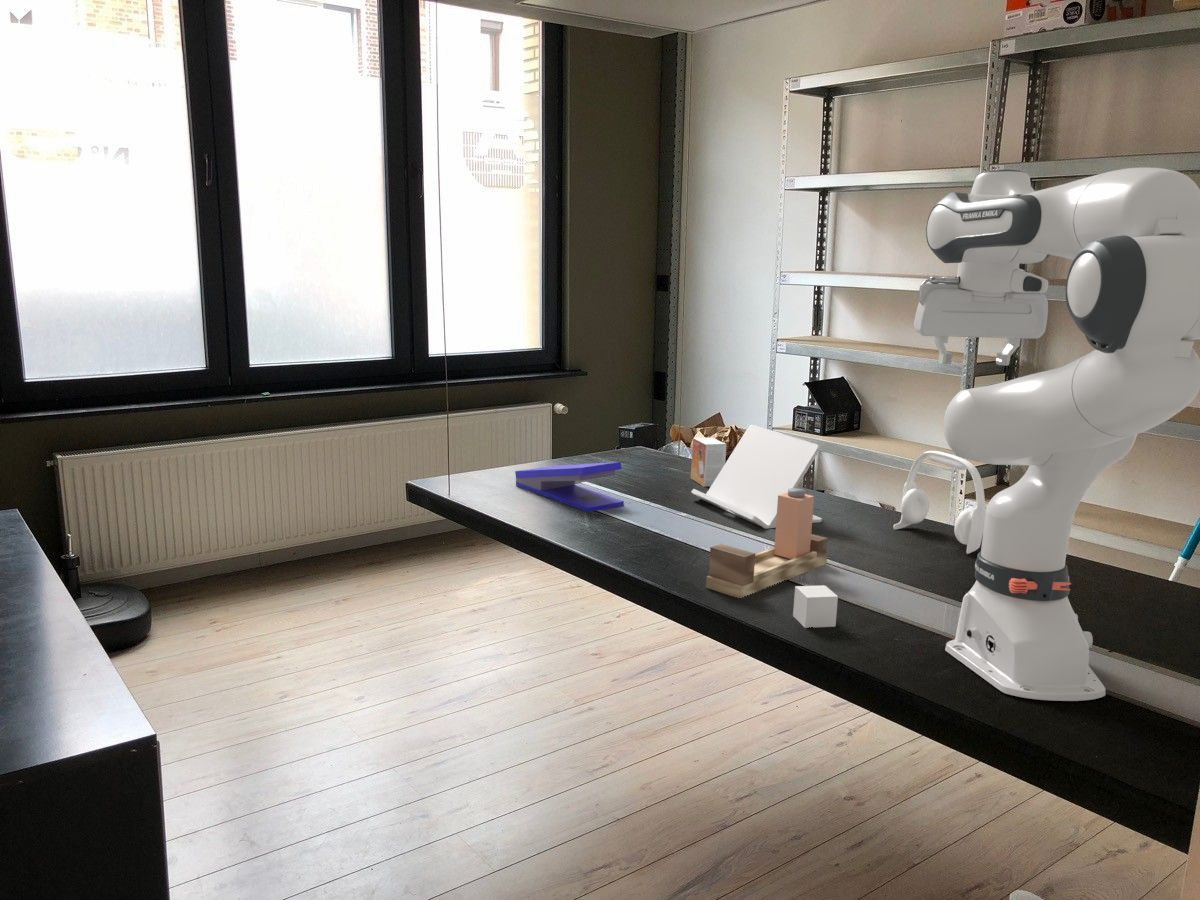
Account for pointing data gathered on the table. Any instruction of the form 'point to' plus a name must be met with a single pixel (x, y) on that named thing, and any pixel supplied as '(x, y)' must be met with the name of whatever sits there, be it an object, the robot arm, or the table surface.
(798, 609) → the white cube
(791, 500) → the pink capped carton
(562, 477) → the stapler
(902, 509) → the headset
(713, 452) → the small box
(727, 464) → the tablet stand
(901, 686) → the table surface
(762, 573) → the track
